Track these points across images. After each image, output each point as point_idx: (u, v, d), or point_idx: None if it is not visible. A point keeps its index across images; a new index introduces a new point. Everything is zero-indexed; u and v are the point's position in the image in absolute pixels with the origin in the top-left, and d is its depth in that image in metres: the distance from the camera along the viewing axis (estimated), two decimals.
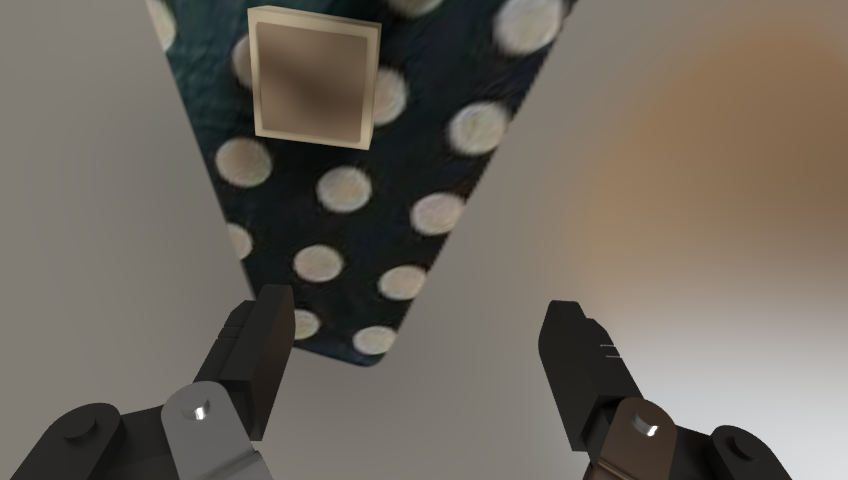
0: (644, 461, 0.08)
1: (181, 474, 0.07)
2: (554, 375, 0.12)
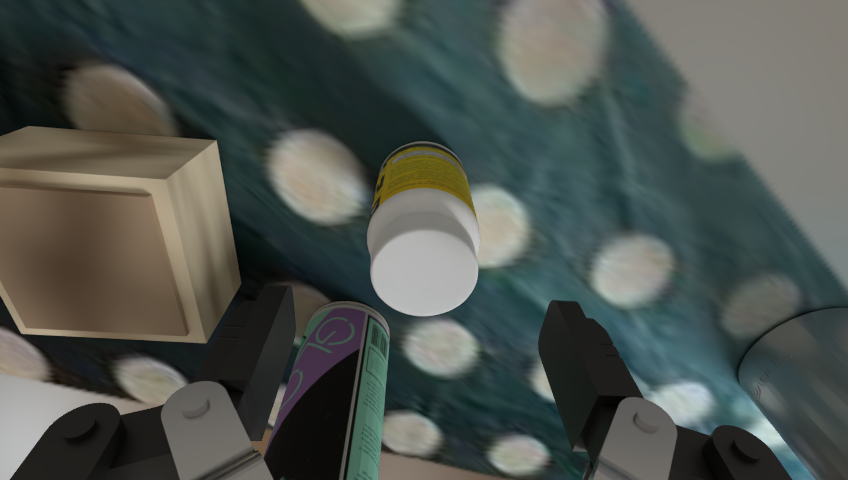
0: (644, 461, 0.08)
1: (181, 474, 0.07)
2: (554, 375, 0.12)
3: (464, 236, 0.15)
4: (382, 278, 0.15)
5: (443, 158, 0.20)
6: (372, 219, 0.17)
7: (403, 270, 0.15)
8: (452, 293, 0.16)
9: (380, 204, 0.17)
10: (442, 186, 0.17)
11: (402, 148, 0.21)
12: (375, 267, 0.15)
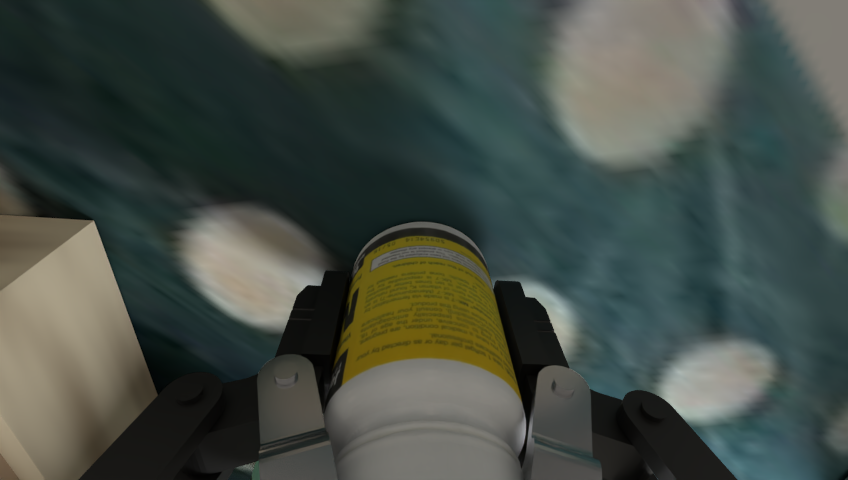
0: (570, 426, 0.09)
1: (262, 434, 0.08)
2: None
3: None
4: None
5: (456, 260, 0.12)
6: (330, 408, 0.09)
7: None
8: None
9: (345, 381, 0.09)
10: (459, 348, 0.09)
11: (388, 236, 0.13)
12: None
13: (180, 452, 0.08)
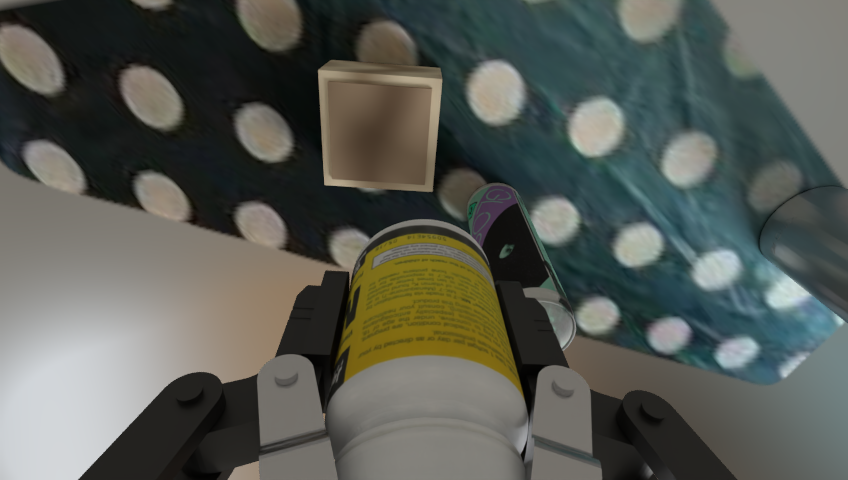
0: (569, 425, 0.09)
1: (262, 433, 0.08)
2: None
3: (512, 478, 0.07)
4: None
5: (458, 258, 0.12)
6: (332, 405, 0.09)
7: None
8: None
9: (347, 378, 0.09)
10: (461, 345, 0.09)
11: (390, 233, 0.13)
12: None
13: (180, 452, 0.08)
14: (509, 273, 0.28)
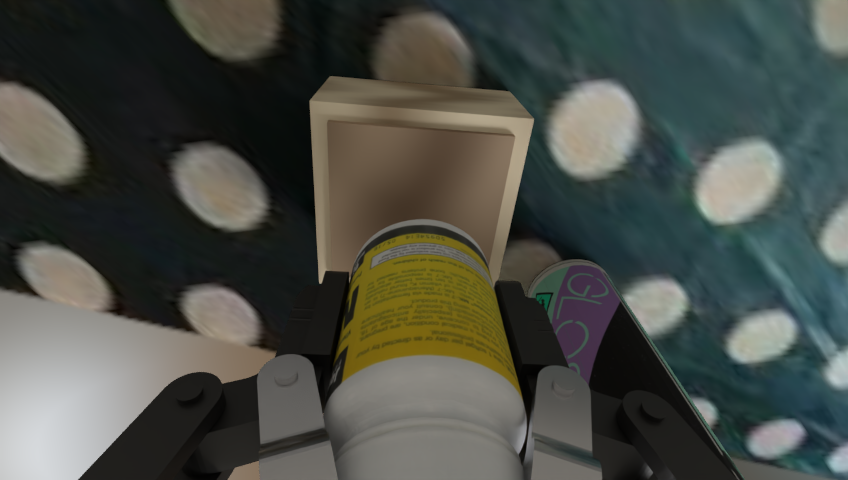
0: (570, 426, 0.09)
1: (262, 433, 0.08)
2: None
3: (510, 478, 0.07)
4: None
5: (457, 257, 0.12)
6: (330, 405, 0.09)
7: None
8: None
9: (345, 377, 0.09)
10: (459, 345, 0.09)
11: (389, 233, 0.13)
12: None
13: (180, 452, 0.08)
14: None
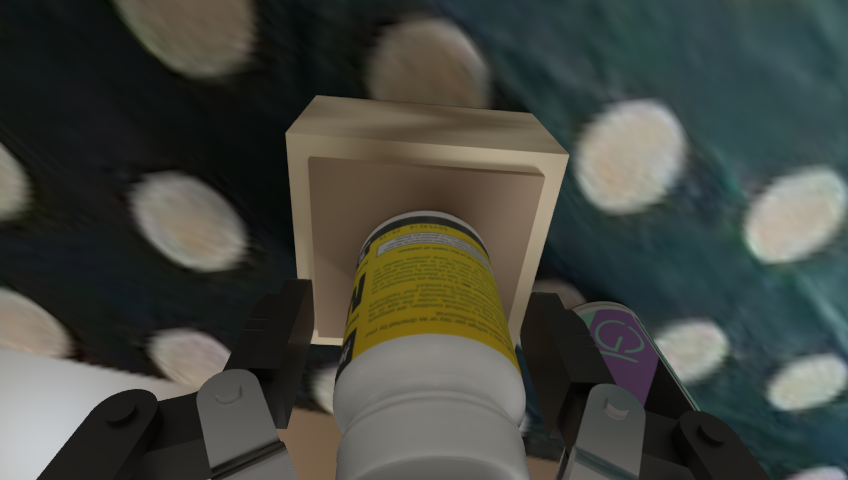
0: (617, 446, 0.09)
1: (211, 457, 0.08)
2: (534, 365, 0.13)
3: (510, 445, 0.08)
4: None
5: (458, 246, 0.12)
6: (340, 382, 0.10)
7: None
8: None
9: (354, 356, 0.10)
10: (462, 325, 0.09)
11: (393, 224, 0.13)
12: None
13: (119, 473, 0.07)
14: None
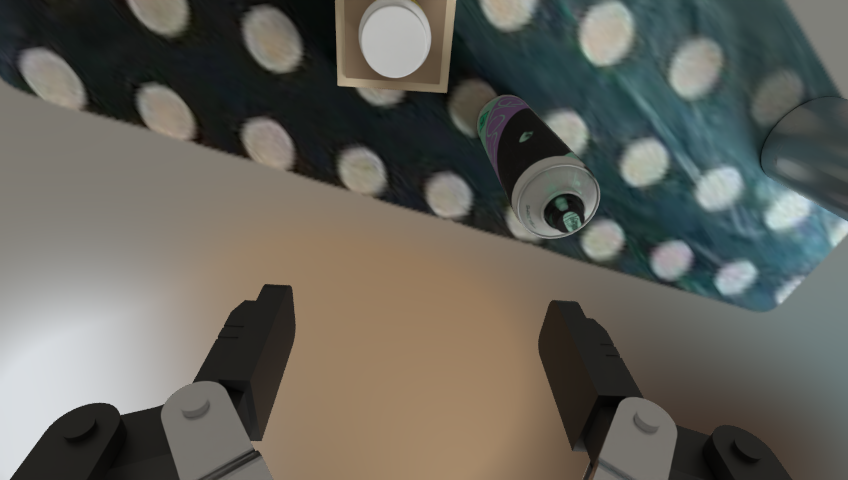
0: (644, 461, 0.08)
1: (181, 474, 0.07)
2: (554, 375, 0.12)
3: (417, 16, 0.25)
4: (368, 45, 0.25)
5: None
6: (361, 19, 0.26)
7: (381, 38, 0.25)
8: (412, 57, 0.26)
9: (366, 9, 0.26)
10: None
11: None
12: (363, 36, 0.25)
13: None
14: (532, 150, 0.28)
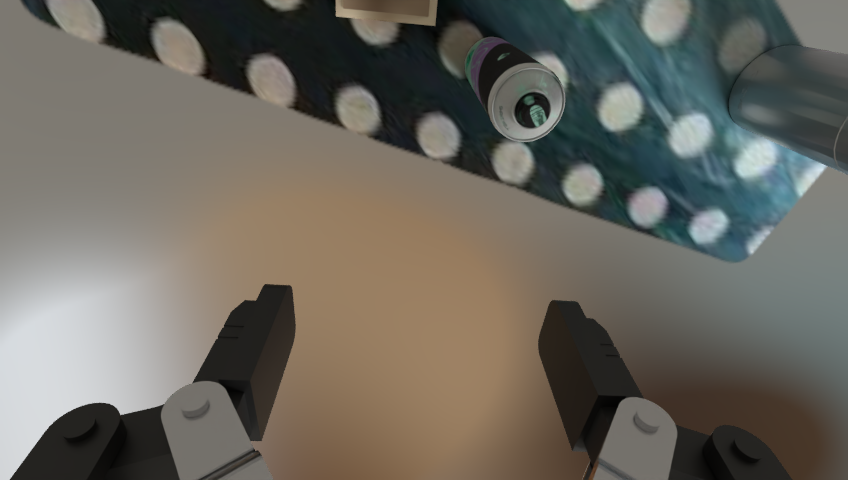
0: (644, 461, 0.08)
1: (181, 474, 0.07)
2: (554, 375, 0.12)
3: None
4: None
5: None
6: None
7: None
8: None
9: None
10: None
11: None
12: None
13: None
14: (507, 62, 0.31)
